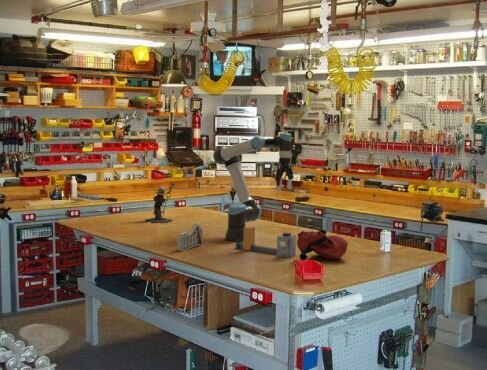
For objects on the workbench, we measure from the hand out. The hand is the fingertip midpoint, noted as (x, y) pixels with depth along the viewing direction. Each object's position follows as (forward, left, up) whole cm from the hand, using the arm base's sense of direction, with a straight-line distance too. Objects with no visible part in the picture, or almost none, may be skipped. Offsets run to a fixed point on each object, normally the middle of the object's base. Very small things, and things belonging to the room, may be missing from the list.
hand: (284, 190), depth 397 cm
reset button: (+21, -32, -27) cm, 47 cm away
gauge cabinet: (+21, -32, -35) cm, 52 cm away
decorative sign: (-36, -52, -35) cm, 72 cm away
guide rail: (+2, -32, -35) cm, 47 cm away
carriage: (-6, -32, -35) cm, 48 cm away
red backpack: (+41, -26, -35) cm, 60 cm away
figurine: (-119, +12, -35) cm, 125 cm away
